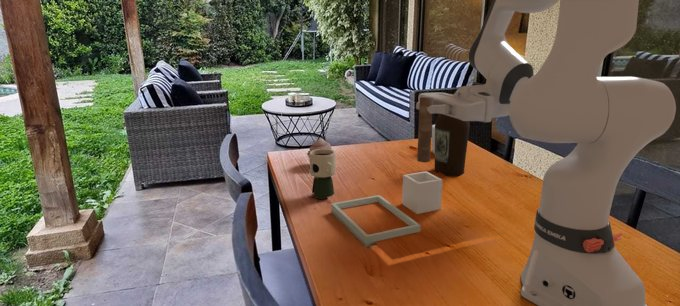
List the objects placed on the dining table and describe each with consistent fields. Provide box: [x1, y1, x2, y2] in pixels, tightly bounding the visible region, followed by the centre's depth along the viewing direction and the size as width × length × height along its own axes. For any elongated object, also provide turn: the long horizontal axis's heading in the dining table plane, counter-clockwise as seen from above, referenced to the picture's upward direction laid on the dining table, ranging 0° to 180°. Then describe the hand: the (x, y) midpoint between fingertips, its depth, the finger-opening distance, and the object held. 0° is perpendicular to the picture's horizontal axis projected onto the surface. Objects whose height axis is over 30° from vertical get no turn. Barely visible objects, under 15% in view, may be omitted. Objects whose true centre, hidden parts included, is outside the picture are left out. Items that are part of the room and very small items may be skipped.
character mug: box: [308, 149, 336, 200], centre depth 125 cm, size 11×7×13 cm, turn 26°
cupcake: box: [306, 137, 332, 157], centre depth 151 cm, size 9×9×10 cm
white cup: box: [431, 124, 435, 155], centre depth 165 cm, size 8×8×10 cm
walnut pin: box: [416, 96, 433, 163], centre depth 112 cm, size 3×3×16 cm
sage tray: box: [330, 194, 422, 248], centre depth 110 cm, size 20×14×2 cm
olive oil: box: [434, 93, 471, 177], centre depth 143 cm, size 11×11×25 cm
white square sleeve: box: [401, 170, 443, 215], centre depth 117 cm, size 7×7×9 cm
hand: (423, 107), depth 110 cm, fingers closed on walnut pin, 3 cm apart
